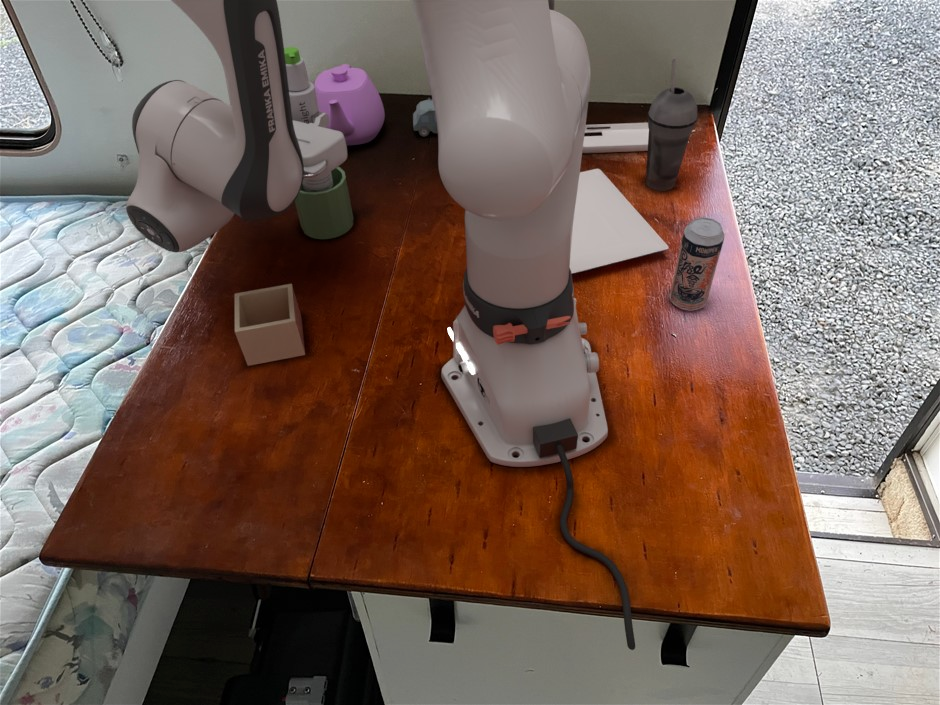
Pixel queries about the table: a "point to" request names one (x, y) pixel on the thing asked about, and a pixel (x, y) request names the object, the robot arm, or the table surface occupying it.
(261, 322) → the ivory holder
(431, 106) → the toy car
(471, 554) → the table surface
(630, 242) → the plate
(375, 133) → the teapot
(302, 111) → the bottle
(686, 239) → the beer can
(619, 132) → the phone case
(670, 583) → the table surface
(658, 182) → the beverage cup
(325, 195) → the green cup
